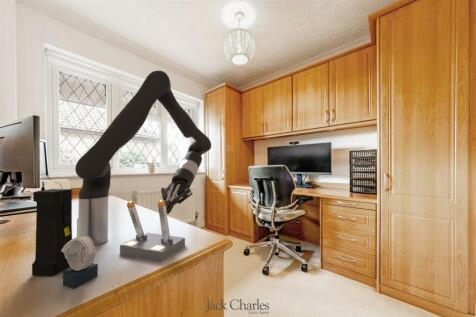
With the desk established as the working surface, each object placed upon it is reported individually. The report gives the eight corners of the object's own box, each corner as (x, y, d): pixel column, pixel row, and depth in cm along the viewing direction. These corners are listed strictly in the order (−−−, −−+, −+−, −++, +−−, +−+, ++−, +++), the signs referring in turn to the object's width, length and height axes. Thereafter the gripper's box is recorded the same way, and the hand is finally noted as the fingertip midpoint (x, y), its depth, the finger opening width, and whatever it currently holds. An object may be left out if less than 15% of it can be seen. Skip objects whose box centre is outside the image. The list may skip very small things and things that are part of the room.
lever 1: (136, 239, 68) (124, 203, 63) (141, 234, 70) (130, 199, 65) (141, 240, 67) (129, 203, 63) (146, 235, 69) (135, 200, 65)
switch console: (119, 254, 63) (119, 240, 64) (147, 240, 75) (147, 228, 75) (161, 262, 58) (161, 247, 58) (185, 246, 69) (185, 233, 69)
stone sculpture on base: (82, 271, 53) (82, 231, 53) (102, 277, 50) (102, 235, 51) (57, 283, 48) (58, 239, 48) (78, 290, 45) (78, 243, 45)
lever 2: (161, 243, 64) (155, 201, 62) (166, 238, 66) (160, 199, 64) (167, 243, 63) (161, 202, 61) (172, 239, 65) (166, 199, 63)
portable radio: (78, 265, 57) (79, 180, 57) (56, 277, 51) (58, 182, 51) (54, 264, 57) (55, 180, 58) (30, 276, 51) (32, 182, 52)
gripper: (167, 167, 76) (143, 205, 64) (196, 167, 71) (176, 207, 59) (176, 179, 80) (154, 217, 69) (204, 180, 76) (186, 220, 64)
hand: (165, 212), depth 64 cm, fingers closed
